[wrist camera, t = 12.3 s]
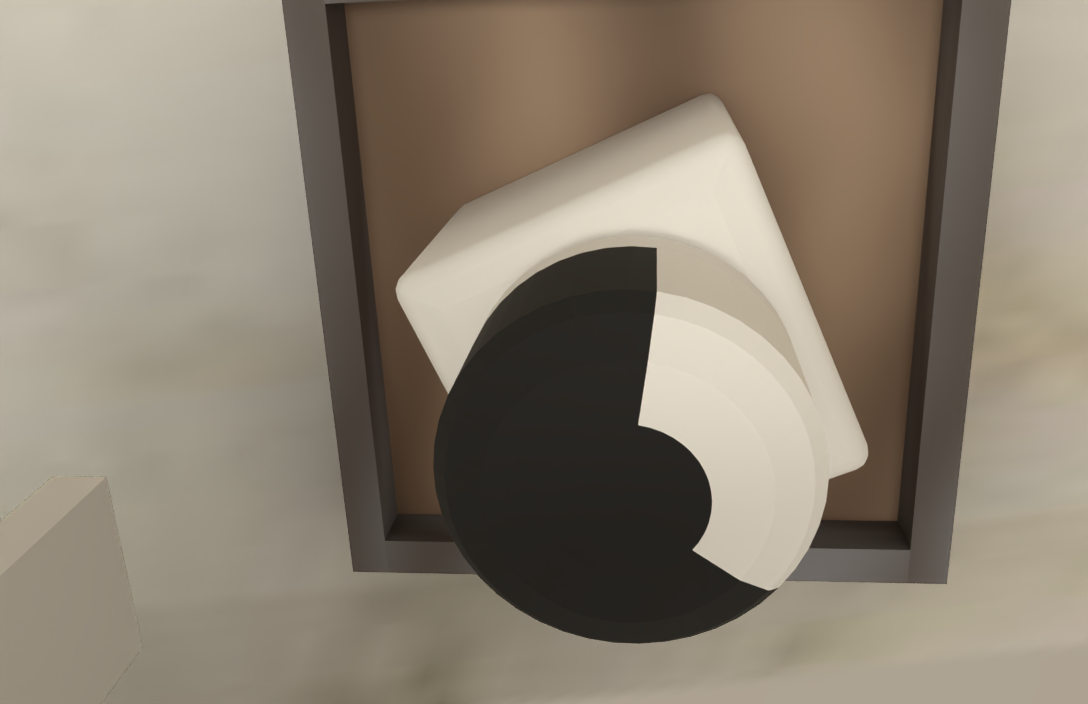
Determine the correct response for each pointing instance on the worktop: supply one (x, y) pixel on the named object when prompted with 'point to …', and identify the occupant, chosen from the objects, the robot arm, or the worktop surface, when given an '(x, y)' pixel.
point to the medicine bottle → (630, 385)
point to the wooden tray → (614, 106)
